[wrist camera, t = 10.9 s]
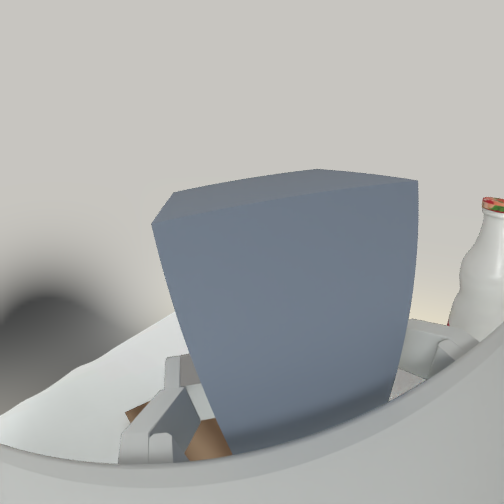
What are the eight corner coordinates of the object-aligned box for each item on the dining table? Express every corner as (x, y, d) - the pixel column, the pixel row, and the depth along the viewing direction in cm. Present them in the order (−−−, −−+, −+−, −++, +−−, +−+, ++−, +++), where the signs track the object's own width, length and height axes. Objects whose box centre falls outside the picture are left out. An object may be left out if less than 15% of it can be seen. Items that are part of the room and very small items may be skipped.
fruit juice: (481, 408, 22) (547, 212, 14) (428, 412, 26) (484, 205, 18) (471, 367, 31) (510, 197, 22) (424, 369, 34) (455, 191, 26)
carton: (260, 505, 8) (151, 223, 4) (240, 432, 13) (173, 192, 8) (365, 469, 9) (426, 179, 5) (327, 406, 14) (323, 168, 9)
